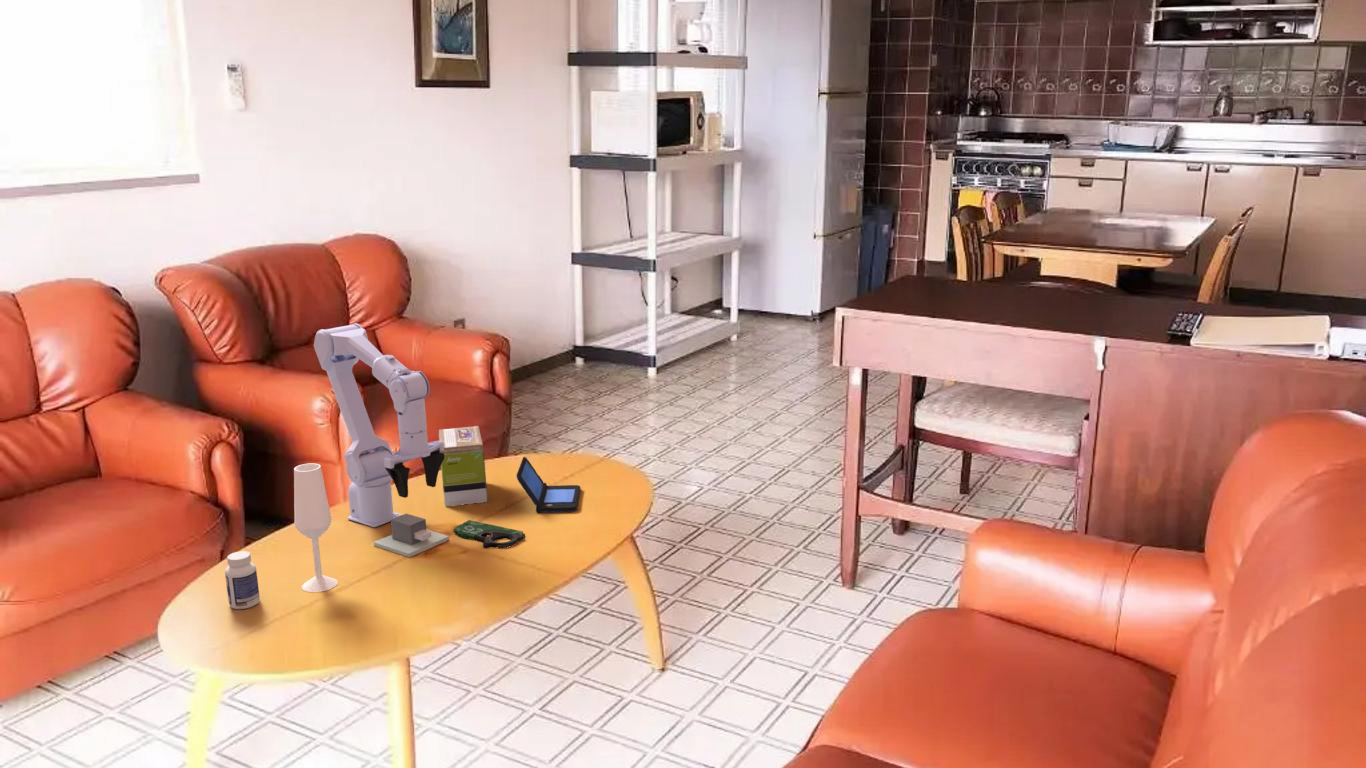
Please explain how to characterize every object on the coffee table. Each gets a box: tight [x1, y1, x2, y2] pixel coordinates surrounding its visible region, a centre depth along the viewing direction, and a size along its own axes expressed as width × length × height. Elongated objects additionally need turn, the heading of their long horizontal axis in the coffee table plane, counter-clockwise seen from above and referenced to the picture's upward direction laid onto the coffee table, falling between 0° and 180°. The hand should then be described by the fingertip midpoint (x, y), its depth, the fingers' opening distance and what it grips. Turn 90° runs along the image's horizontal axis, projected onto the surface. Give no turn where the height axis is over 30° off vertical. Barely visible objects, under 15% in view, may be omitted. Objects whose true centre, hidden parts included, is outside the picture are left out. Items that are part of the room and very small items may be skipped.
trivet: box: [373, 528, 450, 558], centre depth 230 cm, size 11×11×1 cm
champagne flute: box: [293, 462, 339, 593], centre depth 207 cm, size 7×7×24 cm
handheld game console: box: [516, 456, 582, 514], centre depth 252 cm, size 16×13×9 cm
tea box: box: [438, 425, 488, 507], centre depth 256 cm, size 15×10×15 cm, turn 14°
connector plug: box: [390, 513, 431, 545], centre depth 229 cm, size 8×4×4 cm, turn 55°
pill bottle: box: [224, 550, 261, 610], centre depth 201 cm, size 5×5×10 cm
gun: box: [453, 519, 526, 549], centre depth 232 cm, size 16×2×10 cm
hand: (417, 491), depth 230 cm, fingers open, 7 cm apart
